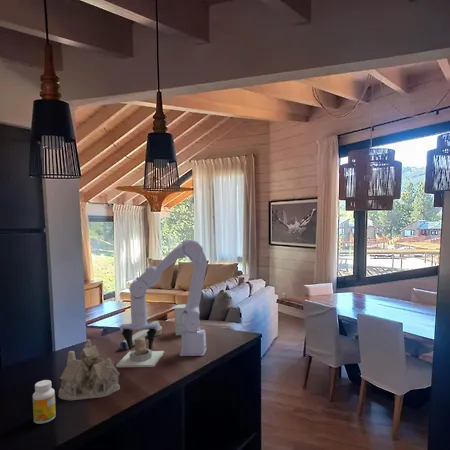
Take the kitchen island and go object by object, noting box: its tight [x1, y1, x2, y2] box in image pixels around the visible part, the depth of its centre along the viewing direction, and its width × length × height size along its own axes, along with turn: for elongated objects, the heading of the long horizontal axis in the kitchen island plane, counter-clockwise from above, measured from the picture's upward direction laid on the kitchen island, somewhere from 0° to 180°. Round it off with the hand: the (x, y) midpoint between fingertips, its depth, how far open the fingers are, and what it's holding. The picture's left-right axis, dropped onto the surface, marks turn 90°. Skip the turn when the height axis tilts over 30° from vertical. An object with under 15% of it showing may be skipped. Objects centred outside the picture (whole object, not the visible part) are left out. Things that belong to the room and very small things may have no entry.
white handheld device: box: [119, 320, 163, 351], centre depth 165 cm, size 5×7×25 cm
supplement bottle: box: [32, 379, 57, 425], centre depth 101 cm, size 5×5×10 cm
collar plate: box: [115, 348, 165, 368], centre depth 142 cm, size 14×14×3 cm
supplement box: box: [173, 303, 187, 336], centre depth 173 cm, size 7×7×13 cm
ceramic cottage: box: [57, 339, 121, 401], centre depth 117 cm, size 16×16×15 cm
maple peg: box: [134, 337, 147, 355], centre depth 142 cm, size 4×4×7 cm
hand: (140, 348), depth 142 cm, fingers open, 7 cm apart
